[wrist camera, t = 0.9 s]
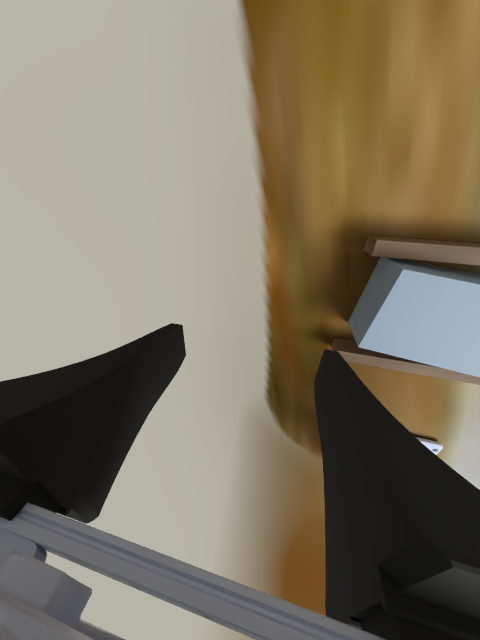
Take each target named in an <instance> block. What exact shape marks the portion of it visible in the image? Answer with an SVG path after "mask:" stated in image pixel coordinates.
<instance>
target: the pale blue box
mask: <svg viewBox="0 0 480 640" xmlns="http://www.w3.org/2000/svg"><path fill="white" fill-rule="evenodd" d="M348 324H349V327H350V329H351V331H352V334H353V336H354V338H355V341H356V343H357V346H358V347H360V348H364V349H368V350H372V351H376V352H380V353H384V354H388V355H392V356H396V357H400V358H404V359H408V360H412V361H416V362H420V363H424V364H428V365H432V366H436V367H440V368H444V369H448V370H452V371H456V372H460V373H464V374H468V375H472V376H476V377H480V274H476V273H471V272H466V271H461V270H456V269H451V268H446V267H441V266H436V265H431V264H426V263H420V262H415V261H410V260H405V259H400V258H389V257H380V259H379V261H378V263H377V265H376V267H375V269H374V271H373V273H372V275H371V277H370V279H369V281H368V283H367V285H366V287H365V289H364V291H363V293H362V295H361V297H360V299H359V301H358V303H357V305H356V307H355V309H354V311H353V313H352V315H351V317H350V319H349V321H348Z"/></svg>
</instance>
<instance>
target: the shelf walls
mask: <svg viewBox="0 0 480 640" xmlns="http://www.w3.org/2000/svg"><path fill="white" fill-rule="evenodd" d="M363 250H364V251H366V252H367V253H368V254H370V255H371V256H378V257H389V258H401V259H412V260H424V261H435V262H446V263H458V264H469V265H480V243H466V242H453V241H439V240H425V239H411V238H397V237H383V236H369V235H368V237H367V240H366V243H365V246H364V249H363ZM331 347H332V351H337V352H339V353H340V354H341V356H342V357H343V358H344V360H345V361H346V362H352V363H357V364H363V365H369V366H375V367H381V368H386V369H392V370H398V371H404V372H409V373H415V374H421V375H427V376H432V377H438V378H444V379H450V380H456V381H461V382H467V383H473V384H479V385H480V377H476V376H472V375H468V374H464V373H460V372H456V371H452V370H448V369H444V368H440V367H436V366H432V365H428V364H424V363H420V362H416V361H412V360H408V359H404V358H400V357H396V356H392V355H388V354H384V353H380V352H376V351H372V350H368V349H364V348H360V347H358V346H357V343H356V341H353V340H346V339H340V338H334V340H333V343H332V346H331Z"/></svg>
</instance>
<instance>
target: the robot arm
mask: <svg viewBox="0 0 480 640" xmlns="http://www.w3.org/2000/svg"><path fill="white" fill-rule="evenodd" d="M185 356H186V352H185V343H184V335H183V326H182V325H179V324H173V323H172V324H169V325H167V326H164V327H162V328H160V329H158V330H156V331H154V332H152V333H150V334H147V335H145V336H143V337H142V338H139V339H137V340H135V341H133V342H130V343H128V344H126V345H124V346H121V347H119V348H117V349H114V350H112V351H109V352H107V353H104V354H102V355H99V356H96V357H93V358H90V359H88V360H85V361H81V362H79V363H75V364H71V365H68V366H65V367H62V368H58V369H54V370H50V371H46V372H42V373H38V374H34V375H30V376H25V377H21V378H16V379H11V380H6V381H1V382H0V640H125V639H122V638H120V637H118V636H116V635H114V634H112V633H110V632H107V631H105V630H103V629H101V628H99V627H97V626H94V625H92V624H90V623H88V622H86V621H83V620H81V619H80V616H81V613H82V611H83V609H84V607H85V606H86V603H87V602H88V600H89V598H90V596H91V594H92V589H91V588H89V587H87V586H85V585H84V584H82V583H80V582H78V581H76V580H75V579H73V578H71V577H70V576H69V575H67V574H66V573H65V572H63V571H61V570H59V569H56V568H54V567H52V566H50V565H48V564H46V563H45V560H46V557H47V553H46V551H48V552H51V553H53V554H55V555H58V556H60V557H63V558H65V559H68V560H70V561H72V562H74V563H77V564H79V565H81V566H84V567H86V568H88V569H91V570H93V571H95V572H98V573H100V574H103V575H105V576H107V577H110V578H112V579H114V580H117V581H119V582H121V583H124V584H126V585H129V586H131V587H133V588H136V589H138V590H140V591H143V592H145V593H147V594H150V595H152V596H154V597H157V598H159V599H162V600H164V601H166V602H169V603H171V604H174V605H176V606H178V607H181V608H183V609H185V610H187V611H190V612H192V613H195V614H197V615H199V616H202V617H204V618H206V619H209V620H211V621H213V622H216V623H218V624H221V625H223V626H225V627H228V628H230V629H233V630H235V631H237V632H239V633H242V634H244V635H246V636H249V637H251V638H253V639H256V640H480V490H479V489H477V488H476V487H475V486H474V485H472V484H471V483H470V482H468V481H467V480H466V479H465V478H463V477H462V476H461V475H460V474H458V473H457V472H456V471H455V470H453V469H452V468H451V467H450V466H448V465H447V464H446V463H445V462H443V461H442V460H441V459H440V458H439V457H438V456H436V455H437V454H438V453H439V452H440V451H441V450H442V449H443V446H442V444H441V443H439V442H436V441H431V440H427V439H422V438H418V437H415V436H414V435H412V434H411V433H410V432H409V431H408V430H407V429H406V428H405V427H404V426H403V425H402V424H401V423H400V422H399V421H398V420H397V419H396V418H395V417H394V416H393V415H392V414H391V413H390V412H389V411H388V410H387V409H386V408H385V407H384V406H383V405H382V404H381V403H380V402H379V401H378V400H377V398H376V397H375V396H374V395H373V394H372V393H371V392H370V391H369V389H368V388H367V387H366V386H365V385H364V384H363V382H362V381H361V380H360V379H359V378H358V376H357V375H356V374H355V373H354V371H353V370H352V369H351V367H350V366H349V365H348V364H347V362H346V361H345V360H344V358H343V357H342V356H341V354H340V353H339V352H337V351H331V350H325V349H324V352H323V356H322V359H321V362H320V365H319V368H318V371H317V374H316V377H315V380H314V382H315V406H316V413H317V420H318V427H319V434H320V440H321V447H322V456H323V473H324V498H325V537H326V538H325V540H326V599H325V600H326V602H325V603H326V604H325V607H326V616H324V615H321V614H318V613H316V612H313V611H311V610H308V609H305V608H303V607H300V606H297V605H295V604H292V603H289V602H287V601H284V600H282V599H279V598H276V597H274V596H271V595H268V594H266V593H263V592H261V591H258V590H256V589H253V588H250V587H248V586H245V585H242V584H240V583H237V582H235V581H232V580H229V579H227V578H224V577H222V576H219V575H216V574H213V573H211V572H208V571H206V570H203V569H201V568H198V567H195V566H193V565H190V564H187V563H185V562H182V561H180V560H177V559H174V558H172V557H169V556H167V555H164V554H161V553H158V552H156V551H153V550H151V549H148V548H146V547H143V546H140V545H138V544H135V543H133V542H130V541H127V540H124V539H122V538H119V537H117V536H114V535H112V534H109V533H106V532H104V531H101V530H99V529H96V528H93V527H91V526H88V525H85V524H83V523H89V522H91V521H93V520H94V519H95V518H97V517H98V516H99V514H100V512H101V509H102V507H103V504H104V502H105V500H106V498H107V496H108V493H109V491H110V489H111V487H112V485H113V482H114V480H115V478H116V476H117V474H118V472H119V470H120V468H121V466H122V464H123V461H124V460H125V457H126V455H127V453H128V451H129V450H130V448H131V446H132V444H133V442H134V440H135V438H136V436H137V434H138V432H139V431H140V429H141V427H142V425H143V423H144V422H145V420H146V418H147V416H148V414H149V413H150V411H151V410H152V408H153V406H154V405H155V404H156V402H157V401H158V399H159V398H160V396H161V395H162V393H163V392H164V391H165V389H166V388H167V386H168V385H169V384H170V382H171V380H172V379H173V378H174V376H175V375H176V373H177V372H178V370H179V368H180V366H181V364H182V362H183V360H184V358H185ZM57 513H59V514H62V515H64V516H67V517H70V518H73V519H75V520H78V521H81V522H83V523H80V522H77V521H75V520H72V519H70V518H67V517H64V516H62V515H59V514H57ZM45 550H46V551H45Z"/></svg>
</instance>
